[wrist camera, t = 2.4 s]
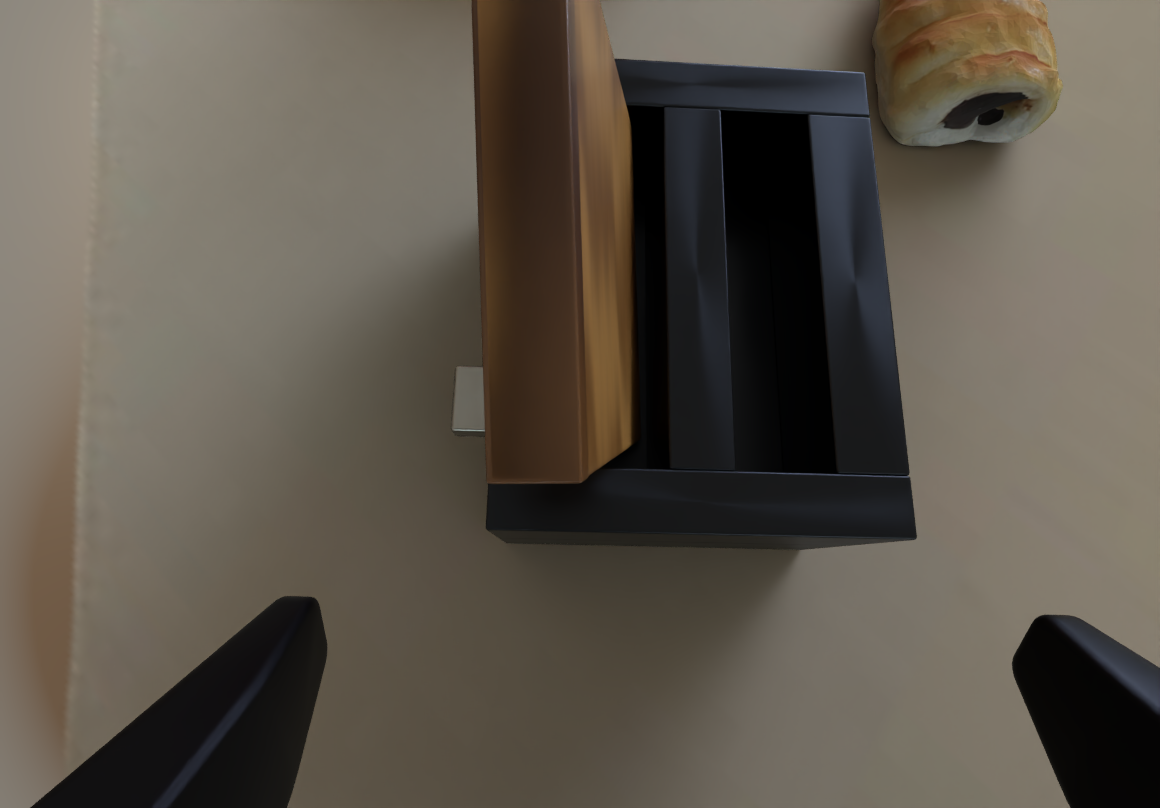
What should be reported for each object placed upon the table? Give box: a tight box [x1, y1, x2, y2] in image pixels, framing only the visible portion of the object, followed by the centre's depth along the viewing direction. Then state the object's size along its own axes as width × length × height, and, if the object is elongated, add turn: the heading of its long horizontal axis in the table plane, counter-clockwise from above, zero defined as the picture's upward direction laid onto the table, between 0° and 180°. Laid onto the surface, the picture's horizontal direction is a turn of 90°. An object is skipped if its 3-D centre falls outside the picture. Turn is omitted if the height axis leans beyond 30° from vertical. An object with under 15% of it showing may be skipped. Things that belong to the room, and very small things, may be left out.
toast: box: [472, 0, 641, 484], centre depth 14 cm, size 9×1×10 cm, turn 2°
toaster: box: [451, 59, 917, 550], centre depth 20 cm, size 13×11×7 cm
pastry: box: [872, 0, 1063, 146], centre depth 25 cm, size 9×7×4 cm
